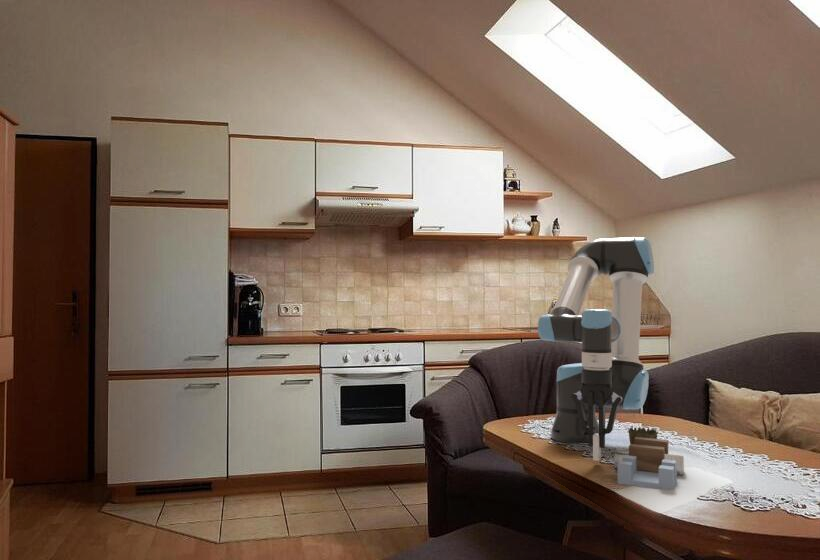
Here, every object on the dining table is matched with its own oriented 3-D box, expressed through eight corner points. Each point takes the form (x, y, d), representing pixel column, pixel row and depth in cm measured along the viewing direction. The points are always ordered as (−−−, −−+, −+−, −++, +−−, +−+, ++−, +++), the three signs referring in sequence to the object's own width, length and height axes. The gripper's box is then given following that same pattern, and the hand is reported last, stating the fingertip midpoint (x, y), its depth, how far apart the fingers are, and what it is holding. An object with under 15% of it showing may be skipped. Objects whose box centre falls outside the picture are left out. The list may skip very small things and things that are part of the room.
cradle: (623, 475, 162) (623, 454, 162) (676, 481, 156) (676, 460, 156) (617, 484, 154) (617, 463, 154) (672, 492, 148) (672, 469, 148)
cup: (660, 463, 172) (659, 433, 173) (630, 462, 174) (630, 432, 174) (655, 456, 180) (655, 427, 180) (627, 455, 181) (626, 426, 181)
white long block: (617, 462, 171) (616, 445, 170) (684, 470, 164) (683, 452, 163) (614, 472, 167) (613, 454, 166) (682, 480, 160) (682, 462, 159)
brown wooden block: (635, 463, 172) (635, 436, 173) (668, 467, 169) (668, 440, 169) (629, 474, 162) (628, 446, 162) (663, 478, 159) (663, 449, 159)
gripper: (568, 368, 171) (568, 459, 171) (620, 371, 165) (620, 465, 165) (574, 365, 178) (575, 453, 178) (625, 368, 172) (625, 459, 172)
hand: (597, 459), depth 171 cm, fingers closed
